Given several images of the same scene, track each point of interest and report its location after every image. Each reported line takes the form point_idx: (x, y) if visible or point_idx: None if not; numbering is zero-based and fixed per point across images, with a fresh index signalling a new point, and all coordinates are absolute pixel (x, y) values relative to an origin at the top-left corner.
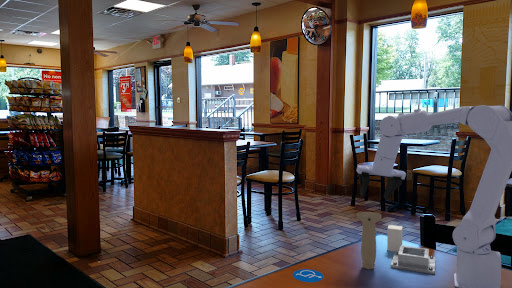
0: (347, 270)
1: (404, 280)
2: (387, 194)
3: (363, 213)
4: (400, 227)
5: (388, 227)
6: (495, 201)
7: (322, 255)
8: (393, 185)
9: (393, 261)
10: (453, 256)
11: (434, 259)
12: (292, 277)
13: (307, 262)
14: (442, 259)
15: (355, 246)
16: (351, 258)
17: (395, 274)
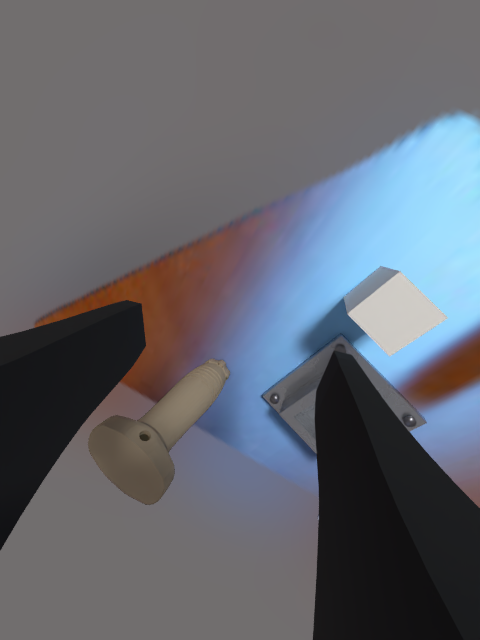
0: (173, 360)
1: (249, 445)
2: (321, 426)
3: (111, 445)
4: (417, 328)
5: (360, 305)
6: None
7: (156, 264)
8: (317, 614)
9: (282, 386)
10: None
11: None
12: None
13: (118, 290)
14: (451, 425)
15: (268, 229)
16: (210, 309)
17: (250, 419)
